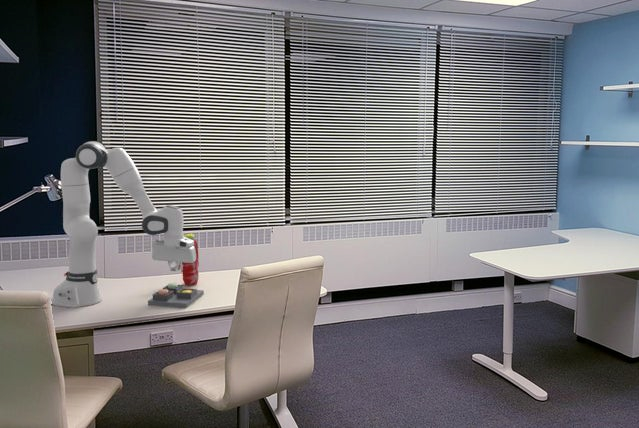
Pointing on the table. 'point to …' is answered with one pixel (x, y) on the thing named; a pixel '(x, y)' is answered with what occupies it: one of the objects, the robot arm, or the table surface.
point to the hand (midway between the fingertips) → (174, 270)
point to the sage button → (172, 285)
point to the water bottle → (190, 266)
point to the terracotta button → (163, 291)
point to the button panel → (176, 297)
